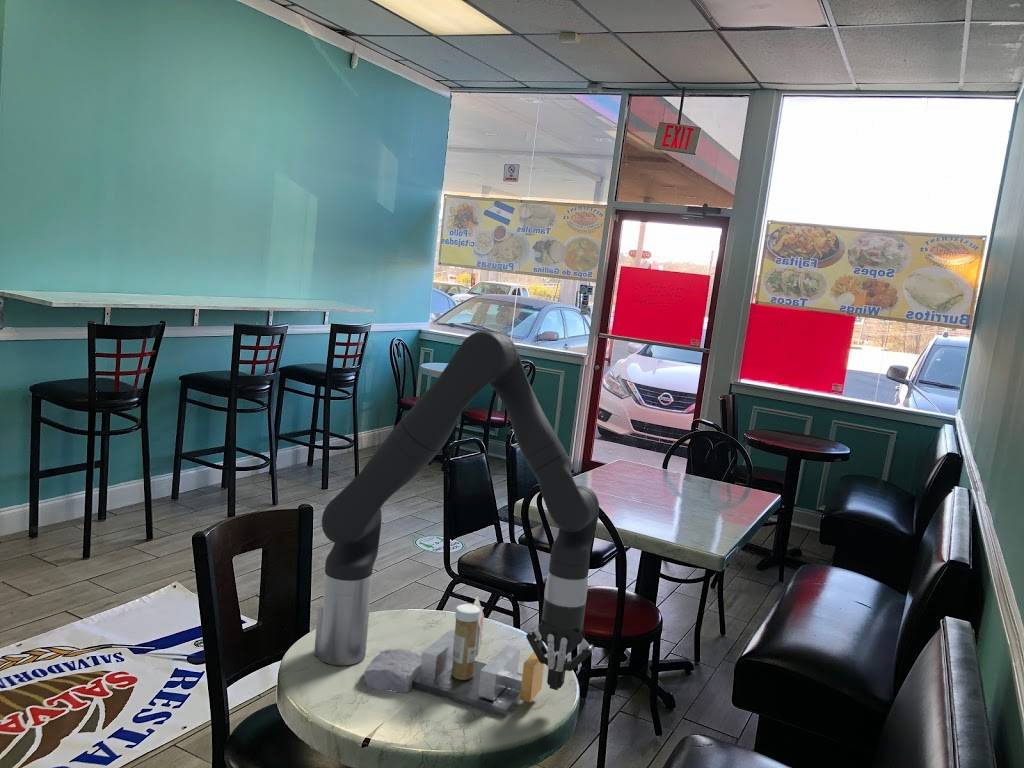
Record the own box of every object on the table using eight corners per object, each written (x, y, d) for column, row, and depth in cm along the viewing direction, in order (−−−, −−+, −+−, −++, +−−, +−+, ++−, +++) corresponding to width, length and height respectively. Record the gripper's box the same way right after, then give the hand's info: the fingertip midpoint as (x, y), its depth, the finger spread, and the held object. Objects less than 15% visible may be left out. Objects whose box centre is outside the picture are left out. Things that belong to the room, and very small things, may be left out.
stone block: (360, 696, 151) (411, 696, 149) (357, 671, 150) (409, 670, 149) (381, 670, 162) (429, 669, 160) (379, 647, 162) (427, 646, 160)
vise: (411, 688, 152) (415, 652, 151) (445, 659, 165) (448, 626, 164) (505, 717, 145) (509, 680, 144) (532, 684, 158) (536, 650, 157)
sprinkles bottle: (477, 680, 154) (482, 612, 152) (453, 681, 153) (459, 613, 151) (470, 668, 158) (476, 602, 157) (448, 670, 157) (453, 603, 155)
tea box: (459, 653, 168) (464, 607, 167) (464, 639, 175) (468, 595, 174) (477, 655, 168) (482, 609, 167) (481, 641, 174) (485, 597, 173)
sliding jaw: (478, 696, 148) (481, 659, 147) (503, 669, 159) (506, 635, 158) (524, 709, 144) (528, 672, 144) (546, 682, 155) (550, 647, 155)
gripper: (606, 599, 147) (595, 689, 149) (538, 582, 152) (528, 669, 154) (594, 612, 140) (583, 707, 143) (523, 594, 145) (513, 686, 147)
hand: (554, 687), depth 148 cm, fingers closed
